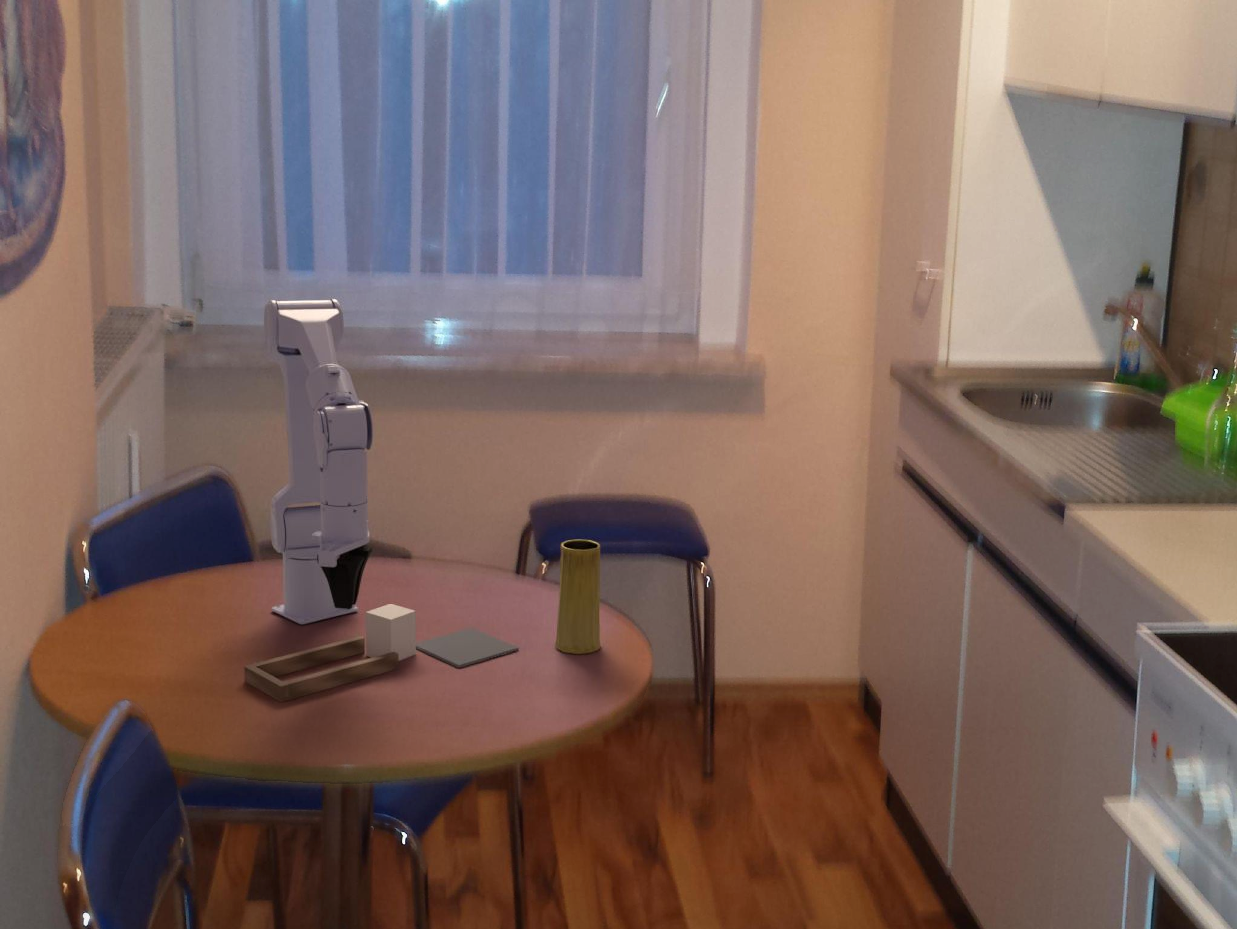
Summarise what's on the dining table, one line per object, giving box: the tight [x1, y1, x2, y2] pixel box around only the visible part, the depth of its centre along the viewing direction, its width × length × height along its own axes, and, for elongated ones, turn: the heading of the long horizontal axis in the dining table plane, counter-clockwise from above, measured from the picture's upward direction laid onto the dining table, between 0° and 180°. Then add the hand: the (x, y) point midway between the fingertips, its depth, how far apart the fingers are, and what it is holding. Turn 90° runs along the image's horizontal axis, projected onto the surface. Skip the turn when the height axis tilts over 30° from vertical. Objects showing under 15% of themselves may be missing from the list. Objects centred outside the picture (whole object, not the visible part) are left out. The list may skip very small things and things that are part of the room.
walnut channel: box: [243, 635, 399, 703], centre depth 178 cm, size 17×8×2 cm, turn 134°
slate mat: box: [416, 627, 520, 669], centre depth 189 cm, size 10×10×1 cm
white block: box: [365, 603, 417, 662], centre depth 185 cm, size 4×4×6 cm
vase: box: [554, 538, 602, 655], centre depth 189 cm, size 6×6×14 cm
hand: (345, 605), depth 179 cm, fingers closed
